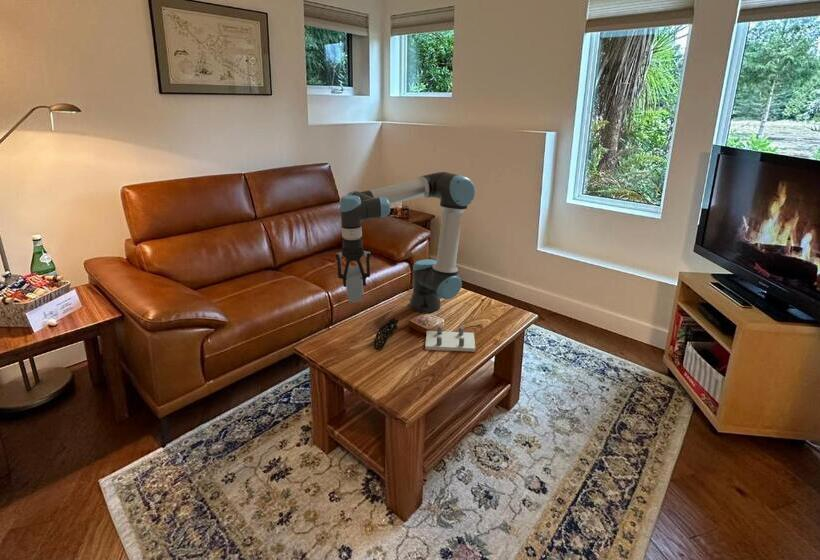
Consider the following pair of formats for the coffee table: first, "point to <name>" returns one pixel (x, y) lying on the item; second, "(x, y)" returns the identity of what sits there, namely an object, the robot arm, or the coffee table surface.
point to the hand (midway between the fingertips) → (355, 293)
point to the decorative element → (385, 333)
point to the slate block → (354, 284)
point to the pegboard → (450, 340)
